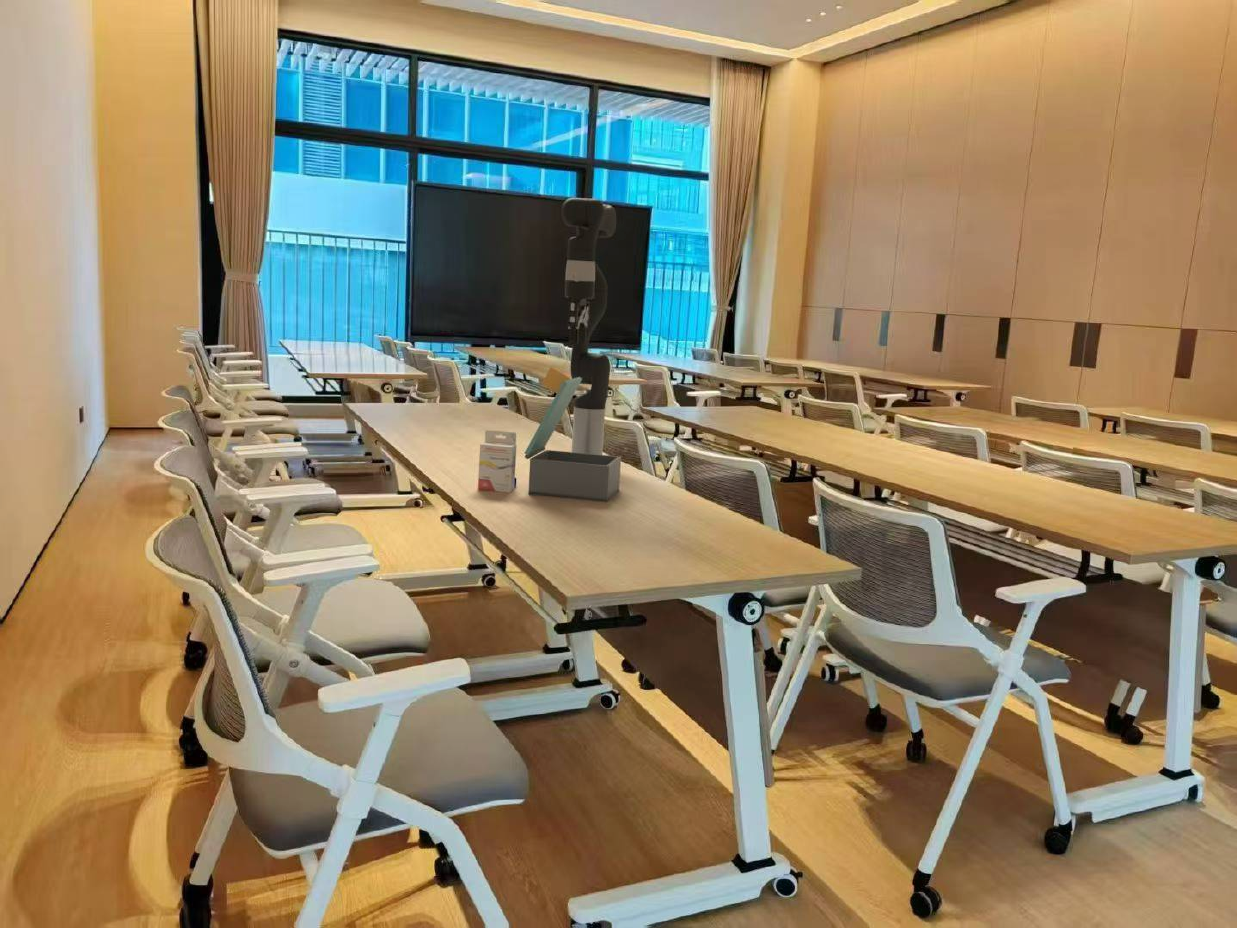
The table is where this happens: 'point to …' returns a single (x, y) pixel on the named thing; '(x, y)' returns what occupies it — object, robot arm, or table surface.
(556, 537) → the table surface
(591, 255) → the robot arm
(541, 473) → the box
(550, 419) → the lid
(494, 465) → the ink cartridge box
